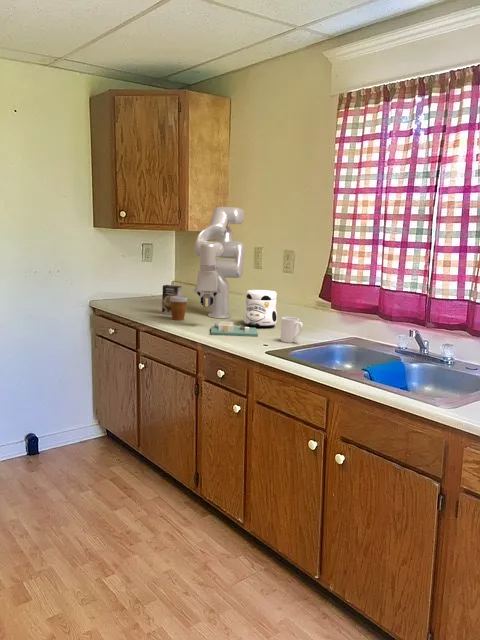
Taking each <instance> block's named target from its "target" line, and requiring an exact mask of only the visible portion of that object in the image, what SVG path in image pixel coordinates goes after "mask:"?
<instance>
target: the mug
mask: <svg viewBox="0 0 480 640" xmlns="http://www.w3.org/2000/svg"><path fill="white" fill-rule="evenodd" d="M280 325H281V328H280V341H281V342H283V343H287V344H288V343H289V344H292V342H294V343H298V341H299V336H300V335H301V334H302V332H303V330H304V326H303V325H304V324H303V323H302V322H301V321H300V318H298V317H295V316H294V317H293V316H282V317H281V324H280ZM299 326H300V327H299Z"/></svg>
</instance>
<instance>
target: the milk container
mask: <svg viewBox="0 0 480 640" xmlns="http://www.w3.org/2000/svg"><path fill="white" fill-rule="evenodd" d="M277 296H278V294H277V292H276V291H275V290H268V289H248V290H246V299H245V303H246V304H245V309H244V313H243V322H244V324H246V325H247V326H250V327H253V328H271V327H274V326H275V325H276V324H277V322H278V313H277V301H278V300H277V298H278V297H277Z"/></svg>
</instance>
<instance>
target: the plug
mask: <svg viewBox="0 0 480 640" xmlns="http://www.w3.org/2000/svg"><path fill="white" fill-rule="evenodd" d="M210 297H211V292H207V291H203V305H202V308H211V306H210Z"/></svg>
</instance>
